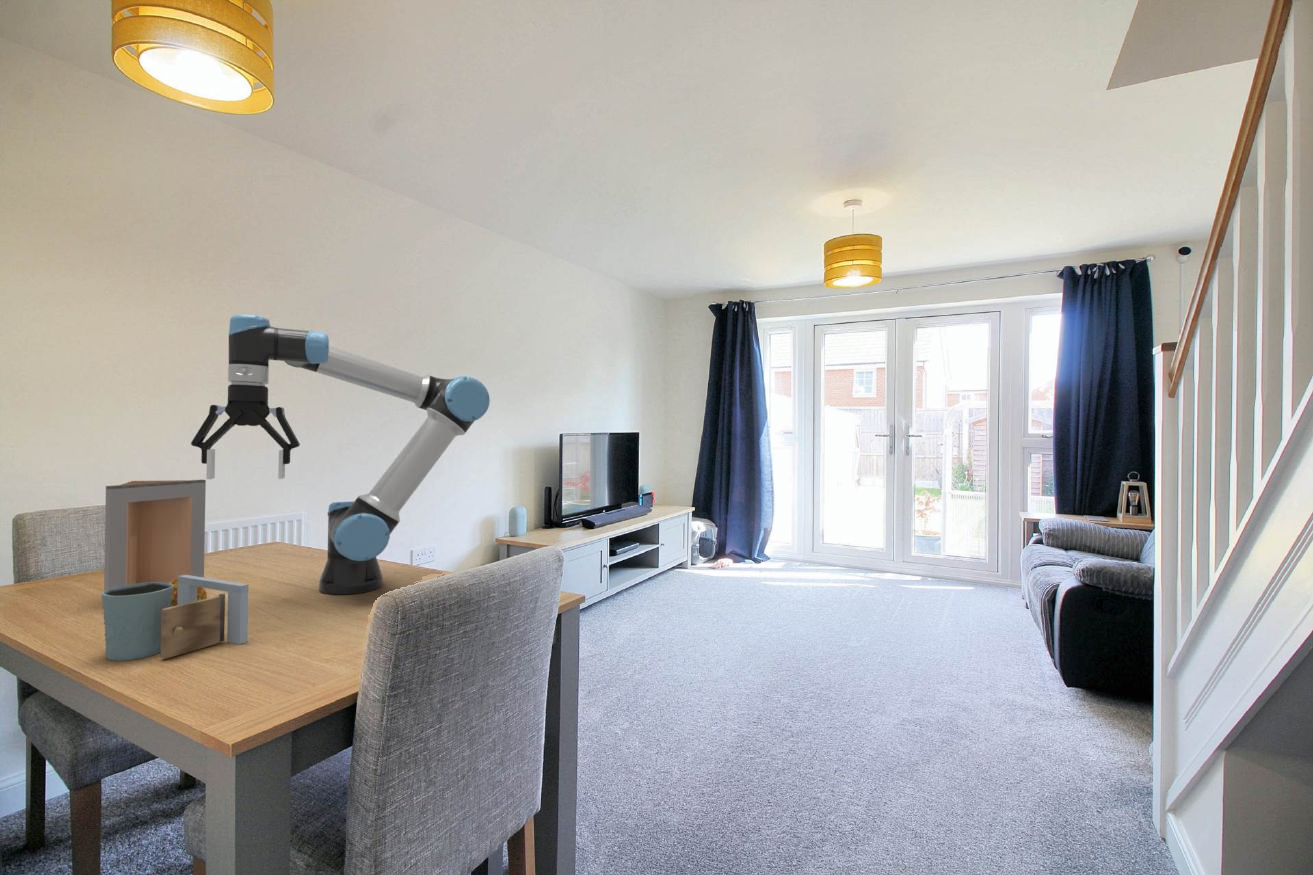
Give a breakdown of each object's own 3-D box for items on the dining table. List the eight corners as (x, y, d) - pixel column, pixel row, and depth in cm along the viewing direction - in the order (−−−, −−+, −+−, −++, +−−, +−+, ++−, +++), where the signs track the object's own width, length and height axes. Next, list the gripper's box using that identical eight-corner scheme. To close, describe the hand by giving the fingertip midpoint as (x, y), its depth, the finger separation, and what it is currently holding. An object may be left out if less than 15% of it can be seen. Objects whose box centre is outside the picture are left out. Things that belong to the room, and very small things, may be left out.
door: (222, 640, 118) (223, 593, 118) (229, 641, 117) (230, 594, 117) (160, 658, 109) (161, 607, 109) (167, 660, 108) (168, 609, 108)
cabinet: (108, 608, 136) (110, 486, 136) (81, 603, 139) (83, 484, 139) (203, 586, 156) (205, 479, 155) (178, 582, 159) (180, 477, 158)
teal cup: (91, 665, 105) (92, 597, 105) (112, 645, 115) (113, 583, 114) (163, 657, 110) (164, 592, 110) (178, 639, 119) (179, 579, 119)
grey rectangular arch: (247, 641, 119) (248, 584, 118) (239, 644, 117) (241, 586, 117) (184, 629, 124) (185, 574, 124) (176, 631, 123) (177, 576, 123)
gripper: (174, 380, 127) (172, 480, 127) (308, 386, 136) (306, 479, 136) (187, 382, 134) (185, 477, 134) (314, 388, 143) (312, 477, 143)
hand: (246, 478), depth 135 cm, fingers open, 13 cm apart
